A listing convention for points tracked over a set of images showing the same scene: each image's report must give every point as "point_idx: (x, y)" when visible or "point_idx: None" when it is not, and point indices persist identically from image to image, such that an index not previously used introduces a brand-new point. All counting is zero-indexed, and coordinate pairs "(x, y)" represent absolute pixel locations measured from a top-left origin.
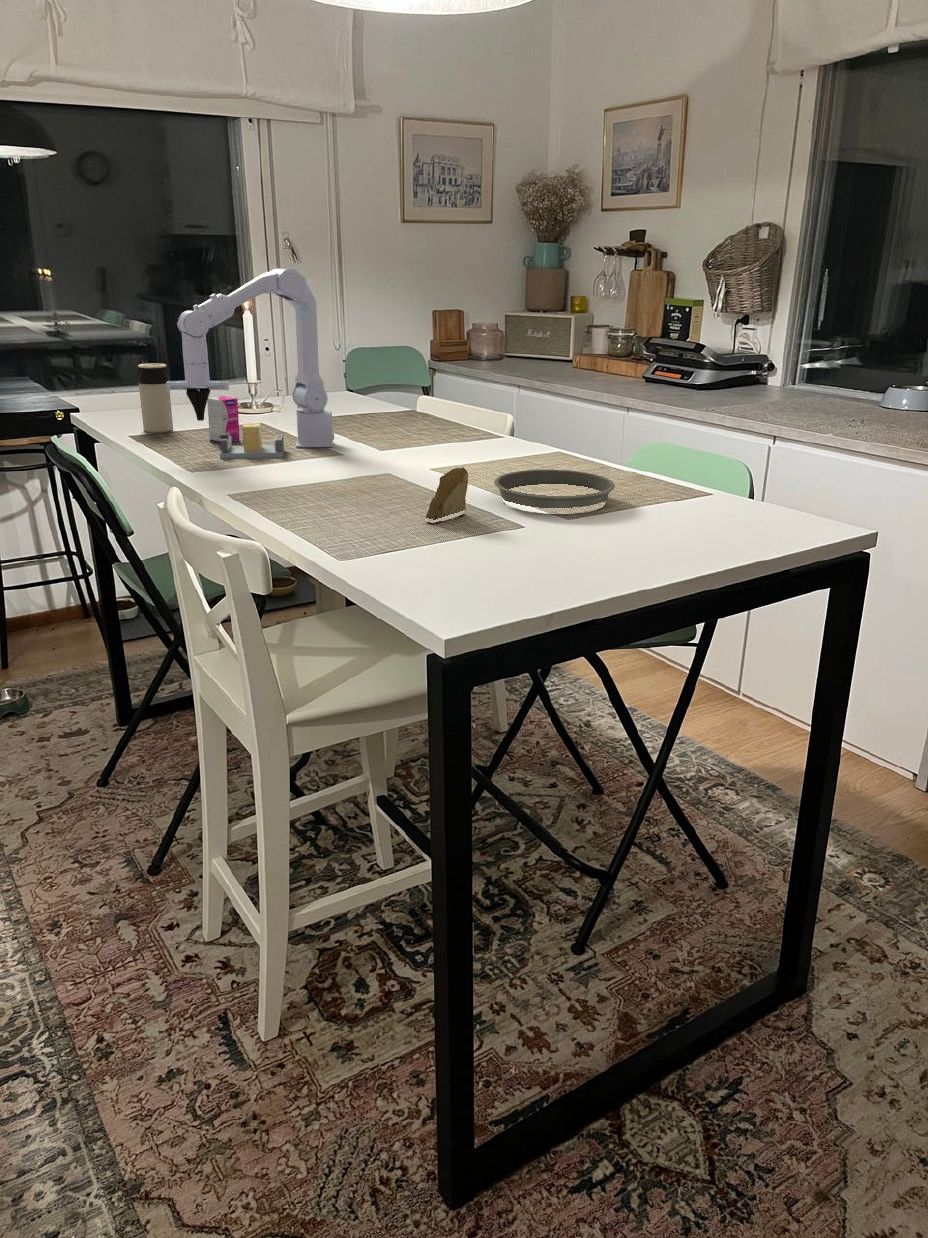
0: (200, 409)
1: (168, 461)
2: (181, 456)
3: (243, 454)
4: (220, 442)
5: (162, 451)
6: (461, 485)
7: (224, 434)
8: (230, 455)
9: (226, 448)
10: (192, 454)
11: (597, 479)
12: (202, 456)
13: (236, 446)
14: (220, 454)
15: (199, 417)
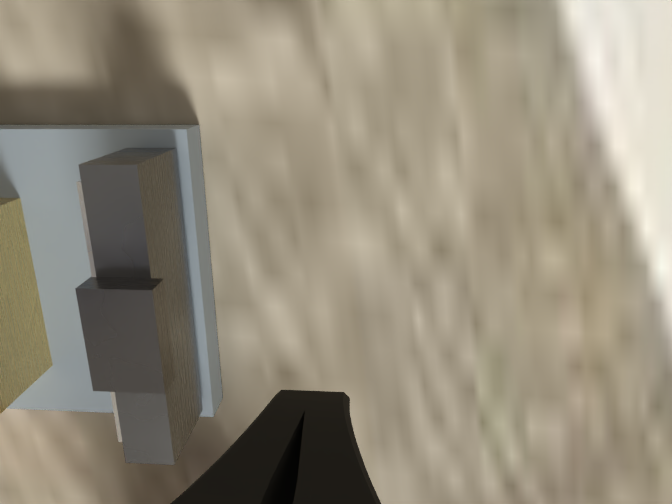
0: (263, 466)
1: (600, 20)
2: (501, 222)
3: (12, 127)
4: (143, 159)
5: (646, 410)
6: None
7: (113, 310)
8: (113, 128)
9: (119, 150)
10: (424, 289)
11: None
12: (343, 210)
13: None
14: (185, 129)
15: (311, 403)
